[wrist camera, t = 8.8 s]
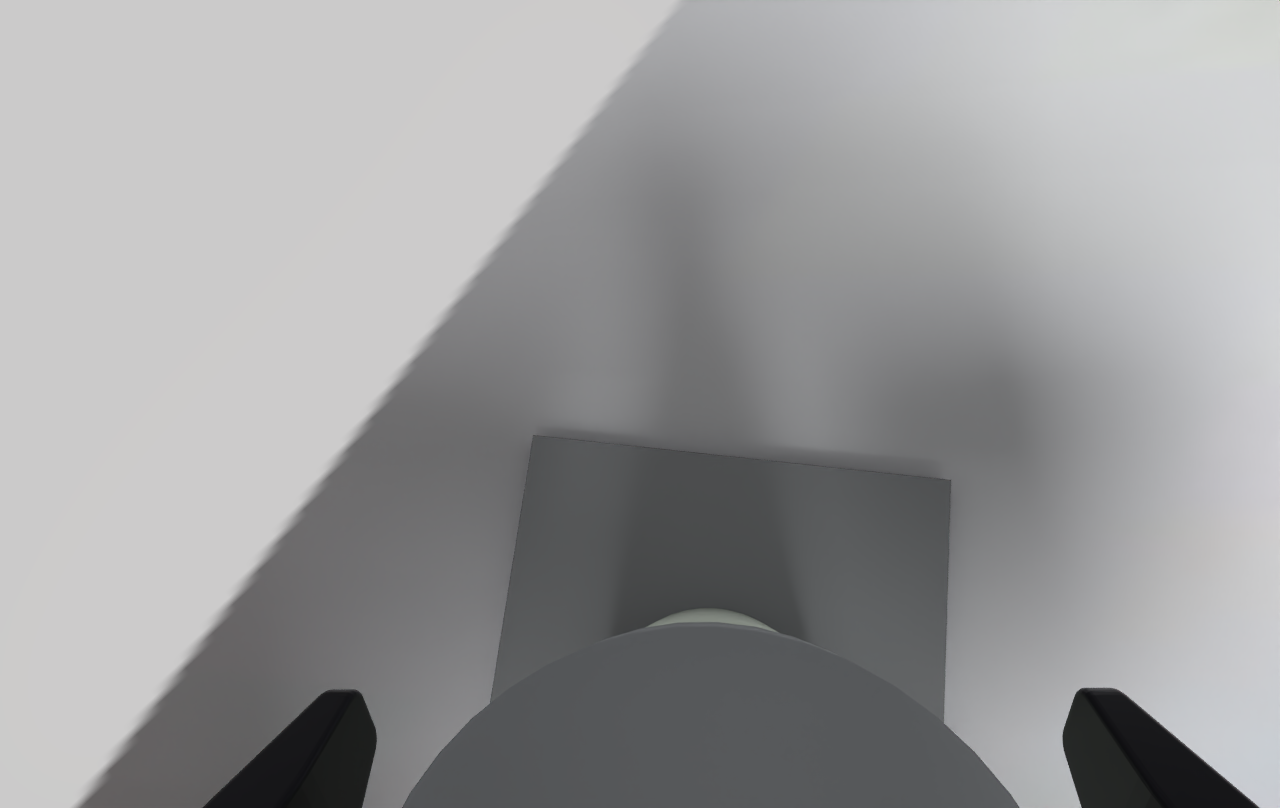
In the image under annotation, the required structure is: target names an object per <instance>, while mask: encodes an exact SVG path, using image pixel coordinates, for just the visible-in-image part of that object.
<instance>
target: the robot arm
mask: <svg viewBox="0 0 1280 808" xmlns="http://www.w3.org/2000/svg"><path fill="white" fill-rule="evenodd" d="M376 742H377V735H376V729H375V726H374V724H373V721H372V719H371V716H370V714H369V711H368V708H367V706H366V703H365V701H364V698H363V696H362V694H361V693H360V692H358V691H357V690H328V691H326V692H324V693H323V694H321V695H320V696H319V697H318V698H317V699H316V700H315V701H314V702H313V703H312V704H310V705H309V706H308V707H307V708H306V709H305V710H304V711H303V712H302V713H301V714H300V715H299V716H298V717H297V718H296V719H295V720H294V721H293V722H292V723H291V724H289V725H288V726H287V727H286V728H285V729H284V730H283V731H282V732H281V733H280V734H279V735H278V736H277V737H276V738H275V739H274V740H273V741H272V742H271V743H270V744H269V745H267V746H266V747H265V748H264V749H263V750H262V751H261V752H260V753H259V754H258V755H257V756H256V757H255V758H254V759H253V760H252V761H251V762H250V763H249V764H248V765H247V766H245V767H244V768H243V769H242V770H241V771H240V772H239V773H238V774H237V775H236V776H235V777H234V778H233V779H232V780H231V781H230V782H229V783H228V784H227V785H226V786H225V787H223V788H222V789H221V790H220V791H219V792H218V793H217V794H216V795H215V796H214V797H213V798H212V799H211V800H210V801H209V802H208V803H207V804H206V805H205V806H204V807H203V808H362V805H363V801H364V797H365V792H366V788H367V784H368V780H369V775H370V771H371V767H372V763H373V758H374V754H375V749H376ZM1063 747H1064V752H1065V755H1066V759H1067V762H1068V765H1069V768H1070V771H1071V775H1072V778H1073V781H1074V784H1075V788H1076V791H1077V794H1078V797H1079V801H1080V804H1081V807H1082V808H1259V807H1258V806H1257V805H1256V804H1255V803H1254V802H1252V801H1251V800H1250V799H1249V798H1248V797H1246V796H1245V795H1244V794H1243V793H1242V792H1240V791H1239V790H1238V789H1237V788H1236V787H1235V786H1233V785H1232V784H1231V783H1230V782H1229V781H1227V780H1226V779H1225V778H1224V777H1223V776H1221V775H1220V774H1219V773H1218V772H1217V771H1216V770H1214V769H1213V768H1212V767H1211V766H1210V765H1208V764H1207V763H1206V762H1205V761H1204V760H1202V759H1201V758H1200V757H1199V756H1198V755H1197V754H1195V753H1194V752H1193V751H1192V750H1191V749H1189V748H1188V747H1187V746H1186V745H1185V744H1183V743H1182V742H1181V741H1180V740H1179V739H1178V738H1176V737H1175V736H1174V735H1173V734H1172V733H1170V732H1169V731H1168V730H1167V729H1166V728H1164V727H1163V726H1162V725H1161V724H1160V723H1159V722H1157V721H1156V720H1155V719H1154V718H1153V717H1151V716H1150V715H1149V714H1148V713H1147V712H1146V711H1144V710H1143V709H1142V708H1141V707H1140V706H1138V705H1137V704H1136V703H1135V702H1134V701H1132V700H1131V699H1130V698H1129V697H1128V696H1127V695H1125V694H1124V693H1122V692H1121V691H1119V690H1117V689H1113V688H1082V689H1080V690H1079V691H1078V692H1076V694H1075V697H1074V700H1073V703H1072V706H1071V709H1070V712H1069V715H1068V718H1067V721H1066V724H1065V727H1064V730H1063Z"/></svg>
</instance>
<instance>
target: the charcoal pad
mask: <svg viewBox="0 0 1280 808" xmlns="http://www.w3.org/2000/svg"><path fill="white" fill-rule="evenodd" d="M950 493H951V480H945V479H935V478H926V477H917V476H907V475H898V474H889V473H880V472H870V471H861V470H852V469H842V468H833V467H824V466H815V465H805V464H796V463H787V462H777V461H768V460H759V459H750V458H740V457H731V456H722V455H712V454H703V453H694V452H685V451H675V450H666V449H657V448H647V447H638V446H629V445H619V444H610V443H601V442H592V441H582V440H573V439H564V438H554V437H545V436H536V435H533V441H532V447H531V453H530V459H529V465H528V471H527V478H526V484H525V490H524V496H523V502H522V509H521V515H520V521H519V527H518V533H517V540H516V546H515V552H514V558H513V564H512V570H511V577H510V583H509V589H508V595H507V601H506V608H505V614H504V620H503V626H502V632H501V639H500V645H499V651H498V657H497V663H496V670H495V676H494V682H493V688H492V694H491V700H490V703H491V702H493V701H494V700H495V699H496V698H498V697H499V696H500V695H501V694H502V693H504V692H505V691H506V690H507V689H509V688H510V687H512V686H514V685H515V684H517V683H518V682H520V681H522V680H523V679H525V678H526V677H528V676H530V675H531V674H533V673H534V672H536V671H538V670H539V669H541V668H542V667H544V666H546V665H548V664H550V663H552V662H554V661H557V660H559V659H561V658H563V657H565V656H568V655H570V654H572V653H574V652H576V651H579V650H581V649H583V648H585V647H588V646H590V645H592V644H594V643H597V642H599V641H601V640H603V639H606V638H610V637H613V636H616V635H620V634H623V633H627V632H630V631H633V630H637V629H640V628H645V627H647V626H649V625H651V624H652V623H654V622H656V621H658V620H660V619H662V618H665V617H667V616H669V615H671V614H675V613H678V612H681V611H685V610H691V609H697V608H717V609H726V610H731V611H734V612H738V613H742V614H744V615H747V616H749V617H752V618H754V619H756V620H758V621H760V622H762V623H764V624H765V625H767V626H769V627H770V628H772V629H774V630H775V631H777V632H779V633H782V634H786V635H789V636H793V637H796V638H798V639H801V640H803V641H806V642H808V643H811V644H813V645H816V646H818V647H821V648H823V649H826V650H828V651H831V652H833V653H835V654H837V655H839V656H841V657H843V658H845V659H847V660H849V661H851V662H853V663H854V664H856V665H858V666H860V667H862V668H863V669H865V670H867V671H869V672H871V673H872V674H874V675H876V676H878V677H880V678H881V679H883V680H885V681H887V682H888V683H890V684H892V685H894V686H896V687H897V688H898V689H900V690H901V691H902V692H904V693H905V694H906V695H908V696H909V697H911V698H912V699H913V700H915V701H916V702H917V703H919V704H920V705H921V706H923V707H924V708H926V709H927V710H928V711H930V712H931V713H932V714H934V715H935V716H936V717H938V718H939V719H940V720H941V721H942V722H943V723H944V692H945V659H946V626H947V592H948V559H949V526H950Z"/></svg>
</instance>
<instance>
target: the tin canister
mask: <svg viewBox="0 0 1280 808" xmlns="http://www.w3.org/2000/svg"><path fill="white" fill-rule="evenodd" d="M402 808H1019V806H1018V805H1017V803H1016V802H1015V800H1014V799H1013V797H1012V796H1011V794H1010V793H1009V792H1008V791H1007V790H1006V788H1005V787H1004V786H1003V785H1002V784H1001V783H1000V781H999V780H998V779H997V778H996V777H995V775H994V774H993V773H992V772H991V771H990V770H989V768H988V767H987V766H986V765H985V764H984V763H983V761H982V760H981V759H980V758H979V757H978V755H977V754H976V753H975V752H974V751H973V750H972V749H971V748H970V747H969V746H967V745H966V744H965V743H964V742H963V741H962V740H961V739H960V738H959V737H958V736H957V735H956V734H955V733H954V732H952V731H951V730H950V729H949V728H948V727H947V726H946V725H945V724H944V723H943V722H942V721H941V720H940V719H939V718H938V717H936V716H935V715H934V714H932V713H931V712H930V711H928V710H927V709H926V708H924V707H923V706H921V705H920V704H919V703H917V702H916V701H915V700H913V699H912V698H911V697H909V696H908V695H906V694H905V693H904V692H902V691H901V690H900V689H898V688H897V687H896V686H894V685H892V684H890V683H888V682H887V681H885V680H883V679H881V678H880V677H878V676H876V675H874V674H872V673H871V672H869V671H867V670H865V669H863V668H862V667H860V666H858V665H856V664H854V663H853V662H851V661H849V660H847V659H845V658H843V657H841V656H839V655H837V654H835V653H833V652H831V651H828V650H826V649H823V648H821V647H818V646H816V645H813V644H811V643H808V642H806V641H803V640H801V639H798V638H796V637H793V636H789V635H786V634H782V633H779V632H777V631H775V630H774V629H772V628H770V627H769V626H767V625H765V624H764V623H762V622H760V621H758V620H756V619H754V618H752V617H749V616H747V615H744V614H742V613H738V612H734V611H731V610H726V609H717V608H697V609H691V610H685V611H681V612H678V613H675V614H671V615H669V616H667V617H665V618H662V619H660V620H658V621H656V622H654V623H652V624H651V625H649V626H647V627H645V628H640V629H637V630H633V631H630V632H627V633H623V634H620V635H616V636H613V637H610V638H606V639H603V640H601V641H599V642H597V643H594V644H592V645H590V646H588V647H585V648H583V649H581V650H579V651H576V652H574V653H572V654H570V655H568V656H565V657H563V658H561V659H559V660H557V661H554V662H552V663H550V664H548V665H546V666H544V667H542V668H541V669H539V670H538V671H536V672H534V673H533V674H531V675H530V676H528V677H526V678H525V679H523V680H522V681H520V682H518V683H517V684H515V685H514V686H512V687H510V688H509V689H507V690H506V691H505V692H504V693H502V694H501V695H500V696H499V697H498V698H496V699H495V700H494V701H493V702H491V703H490V704H489V705H488V706H487V707H485V708H484V709H483V710H482V711H480V712H479V713H478V714H477V715H476V716H474V717H473V718H472V719H471V720H470V721H469V722H468V723H467V724H466V725H465V727H464V728H463V729H462V730H461V731H460V732H459V733H458V734H457V735H456V736H455V737H454V738H453V739H452V740H451V741H450V742H449V743H448V745H447V746H446V747H445V748H444V749H443V750H442V751H441V752H440V753H439V755H438V756H437V757H436V759H435V760H434V761H433V763H432V764H431V765H430V767H429V768H428V770H427V771H426V772H425V774H424V775H423V776H422V778H421V779H420V780H419V782H418V783H417V785H416V786H415V787H414V789H413V790H412V791H411V793H410V795H409V797H408V798H407V800H406V802H405V804H404V805H403V807H402Z"/></svg>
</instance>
